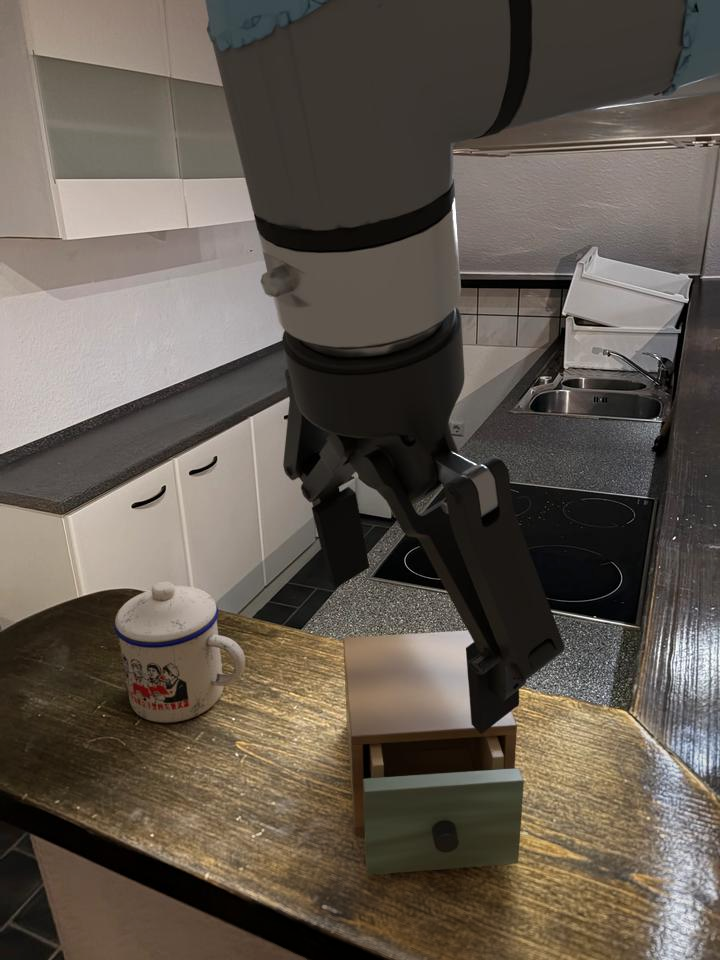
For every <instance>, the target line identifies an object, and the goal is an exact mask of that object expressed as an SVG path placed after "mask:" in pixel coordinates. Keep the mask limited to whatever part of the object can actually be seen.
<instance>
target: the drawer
mask: <svg viewBox="0 0 720 960" xmlns="http://www.w3.org/2000/svg"><path fill="white" fill-rule="evenodd" d="M365 755H366V766H367V776H368V778H367V779H363V795H364V827H365V835H364V849H365V850H364V855H365V869H366V875H368V876H369V875H382V874H384V875H385V874H396V873H397V874H398V873H409V872H411V873H412V872H423V871H436V870H437V871H438V870H449V869H452V870H453V869H463V868H465V869H466V868H476V867H477V868H478V867H490V866H503V865H505V866H506V865H517V864H519V857H520V843H521V842H520V841H521V828H522V816H523V815H522V814H523V801H524V800H523V799H524V786H525V785H524V784H525V780H524V777H523V774H522V772H521V769H520V768H519V767H515V768H514V769H503V765H504V755H503V752H502V749H501V747H500V744H499V741H498V738H497V736H483V737H468V738H453V739H437V740H422V741H407V742H392V743H377V744H365Z"/></svg>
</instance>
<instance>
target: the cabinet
mask: <svg viewBox="0 0 720 960" xmlns="http://www.w3.org/2000/svg"><path fill="white" fill-rule="evenodd" d="M342 641H343V643H342V644H343V664H344V665H343V667H344V690H345V691H344V692H345V715H346V716H345V717H346V718H345V719H346V732H347V733H346V735H347V747H348V762H349V774H350V775H349V776H350V791H351V803H352V816H353V817H352V818H353V829H354V836H356V837H357V836H365V827H364V795H363V779H367V778H368V776H367V766H366V755H365V744H377V743H392V742H407V741H422V740H437V739H453V738H468V737H483V736H497V738H498V741H499V744H500V747H501V749H502V752H503V755H504V765H503V769H514V768H516V767H515V765H516V751H517V733H518V724H517V722H516V718H515V716H514V714H513V710H512V711H511V712H509V713H508V714H507V715H505V716H504V717H503V718H502V719H500V720H499V721H498V722H496V723H495V724H494V725H493V726H491V727H490V728H489V729H488V730H486V731H485V732H484V733H482V734H480V733H479V732H478V731H477V729H476V728H475V727H474V726H473V725H472V724H471V711H470V697H469V684H468V671H467V658H466V647H468V646H469V645H470V644H472V643H473V642H474V641H473V639H472V637H471V635H470V633H469V632H468V630H467V629H466V630H452V631H451V630H449V631H434V632H433V631H431V632H417V633H401V634H399V633H398V634H383V635H365V636H350V637H343V639H342Z"/></svg>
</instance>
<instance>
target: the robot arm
mask: <svg viewBox="0 0 720 960" xmlns="http://www.w3.org/2000/svg"><path fill="white" fill-rule="evenodd" d="M205 5H206V11H207V18H208V21H207V26H206V32H207V35H208V38H209V41H210V43H211V44H212V48H213V51H214V55H215V59H216V63H217V67H218V73H219V76H220V80H221V84H222V89H223V92H224V96H225V101H226V104H227V109H228V113H229V117H230V121H231V122H230V123H231V125H232V130H233V135H234V138H235V142H236V146H237V151H238V155H239V159H240V163H241V167H242V171H243V175H244V180H245V184H246V187H247V193H248V196H249V200H250V204H251V208H252V212H253V216H254V217H253V218H254V221H255V225H256V229H257V232H258V237H259V240H260V246H261V251H262V255H263V259H264V263H265V269H266V271H265V272H264V273H262V274H261V278H260V281H259V282H260V284H261V287H262V290H263V292H264V294H265V295H266V296H268V297H269V298H273V303H274V307H275V311H276V316H277V319H278V323H279V325H280V326H281V328H282V329H283V330H284V331H283V334H282V338H281V339H282V340H281V342H282V343H281V344H282V347H283V353H284V357H285V361H286V365H287V368H285V371H284V375H285V382H286V387H287V394H288V399H289V402H288V412H287V421H286V422H287V423H286V432H285V433H286V435H285V442H284V454H283V463H282V467H283V471H284V474H285V475H286V476H287V477H288V478H289V479H290V480H291V481H295V480H297V479H299V480H300V481H301V482H302V483H301V485H300V490H301V493H302V496H303V498H305V499H306V500H307V501H308V502H309V503H311V504H312V506H311V511H312V515H313V519H314V524H315V529H316V532H317V536H318V537H317V538H318V540H319V545H320V549H321V553H322V557H323V561H324V567H325V570H326V574H327V578H328V583H330V585H332V587H334V589H337V588H339V587H341V586H342V585H344V584H345V583H347V582H348V581H350V580H351V579H353V578H355V577H356V576H358V575H360V574H361V573H363V572H364V571H366V570H368V569H369V568H370V562H369V557H368V551H367V547H366V540H365V535H364V529H363V525H362V519H361V513H360V508H359V504H358V498H357V493H356V492H355V490H354V489H352V488H351V487H350V486H347V487H346V488H344V489H342V490H341V491H340V487H341V486H343V485H345V484H347V483H348V482H350V481H353V480H354V479H355V476H353V475H355V473H356V474H357V479H358V480H359V481H361V482H362V483H363V484H364V485H366V486H367V487H369V488H371V489H373V490H375V491H376V492H377V493H379V495H380V496H381V497H382V498H383V499H384V501H386V503H387V505H388V507H389V509H390V510H391V512H392V514H393V516H394V518H395V519H396V521H397V523H398V525H399V527H400V529H401V530H402V532H403V533H404V535H405V536H408V537H411V538H416V539H418V541H419V543H420V545H421V547H422V548H423V550H424V552H425V554H426V556H427V557H428V559H429V561H430V563H431V565H432V567H433V569H434V571H435V573H436V574H437V576H438V578H439V580H440V582H441V583H442V586H443V587H444V589H445V590H446V593H447V595H448V596H449V598H450V601H451V602H452V604H453V606H454V607H455V610H456V612H457V613H458V615H459V617H460V619H461V620H462V622H463V625H464V627H465V628H466V630H468V632H469V633H470V635H471V637H472V639H473V641H474V642H473V643H472V644H470V645H469V646H468V647H466V658H467V671H468V684H469V697H470V711H471V724H472V725H473V726H474V727H475V728H476V729H477V731H478V732H479V733H480V734H482V733H484V732H485V731H486V730H488V729H489V728H490V727H491V726H493V725H494V724H495V723H496V722H498V721H499V720H500V719H502V718H503V717H504V716H505V715H507V714H508V713H509V712H511V711H512V712H513V710H515V709H516V708H517V707H518V706H520V689H521V688H522V687H524V686H525V685H526V683H527V681H528V680H529V679H530V678H531V677H532V676H534V675H535V674H536V673H537V672H539V671H540V670H542V669H543V668H544V667H545V666H547V665H548V664H549V663H551V662H552V661H553V660H555V659H556V658H557V657H558V656H559V655H562V653H563V652H565V644H564V641H563V638H562V635H561V633H560V630H559V627H558V624H557V622H556V619H555V617H554V615H553V612H552V609H551V606H550V603H549V600H548V598H547V595H546V592H545V590H544V586H543V584H542V582H541V579H540V576H539V573H538V571H537V569H536V566H535V563H534V561H533V558H532V555H531V553H530V550H529V549H530V548H529V547H528V544H527V541H526V538H525V536H524V533H523V531H522V528H521V526H520V522H519V520H518V517H517V514H516V512H515V509H514V504H513V497H512V496H513V494H512V487H511V478H510V477H511V476H510V473H509V472H510V471H509V469H508V466H507V465H506V463H505V462H504V461H503V460H502V459H501V458H500V457H498V456H495V455H493V456H492V455H491V456H490V457H488V458H487V459H484V460H483V461H482V462H480V463H478V464H477V463H475V462H473V461H471V460H469V459H467V458H465V457H464V456H461V455H460V454H459V449H458V446H457V444H456V441H455V440H454V437H453V434H452V431H451V426H450V419H451V415H452V413H453V410H454V408H455V406H456V403H457V401H458V399H459V397H460V396H461V394H462V391H463V388H464V384H465V359H464V342H463V325H462V324H463V323H462V314H461V311H460V309H459V307H458V306H457V305H458V303H459V302H460V299H461V298H460V297H461V293H462V285H461V282H462V281H461V269H460V257H459V255H460V254H459V240H458V228H457V214H456V213H457V212H456V199H455V196H456V191H455V190H456V189H455V188H456V187H455V179H454V146H456V145H457V144H458V143H460V142H463V141H468V140H477V139H481V138H485V137H489V136H493V135H497V134H500V133H501V132H502V131H504V130H505V131H506V130H510V129H515V128H519V127H523V126H527V125H532V124H537V123H540V122H545V121H549V120H554V119H559V118H564V117H568V116H572V115H576V114H581V113H585V112H589V111H594V110H601V109H607V108H617V107H623V106H631V105H639V104H647V103H653V102H661V101H670V100H677V99H684V98H692V97H699V96H707V95H708V96H709V95H713V94H720V0H205ZM441 485H442V487H443V489H444V495H445V497H444V498H443V499H441V500H440V501H438V502H437V503H435V504H434V505H432V506H430V507H429V508H427V509H426V510H424V511H422V512H420V513H419V514H418V512H417V511H416V509H415V507H414V505H416V504H418V503H419V502H421V501H422V500H425V499H426V498H428V497H429V496H431V495H432V494H434V492H436V491H437V490H438V488H440V486H441Z"/></svg>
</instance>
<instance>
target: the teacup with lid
mask: <svg viewBox="0 0 720 960" xmlns="http://www.w3.org/2000/svg"><path fill="white" fill-rule="evenodd" d="M218 617H219V608H218V605H217V603H216V600H215V599H214V598H213V597H212V595H210V593H208V592H207V591H204V590H202V589H199V588H197V587H192V586H186V585H175V584H173V583H172V582H170V581H167V580H165V581H159V582H157V583H155V584H154V585H152V587H151V589H149V590H145V591H143V592H142V593H139V594H137V595H136V596H134V597H132V598H130V599H129V600H128V601H126V602H125V603H124V604H123V605H122V606H121V607H120V608H119V610H118V611H117V613H116V615H115V620H114V625H113V627H114V628H113V629H114V632H115V634H116V636H117V637H118V639H119V646H120V652H121V657H122V663H123V668H124V669H123V670H124V675H125V682H126V687H127V693H128V699H129V704H130V705H131V706H130V707H131V709H132V710H133V711H134V712H135V713H136V714H137V716H139V717H141V718H143V719H144V720H148V721H151V722H155V723H164V724H165V723H178V722H183V721H186V720H190V719H192V718H195V717H198V716H199V715H201V714H203V713H205V712H206V711H208V710H209V709H211V708H213V706H214V705H215V704H216V703H217V702H218V701H219V699H220V698H221V696H222V694H223V692H224V687H229V686H233V685H234V684H235V683H237V682H238V680H239V679H240V678H241V677H242V675H243V674H244V672H245V668H246V656H245V653H244V651H243V649H242V647H241V646H240V645H239V644H238V643H237V641H235V640H233V639H232V638H230V637H227V636H224V635H220V634H219V629H218V620H217V619H218ZM221 650H223V651H225V652H226V653H227V654H228V655H229V656H230V657H231V659H232V662H233V673H230V674H229V673H228V674H226V673H225V674H224V673H223V664H222V656H221V655H222V654H221Z"/></svg>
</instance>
